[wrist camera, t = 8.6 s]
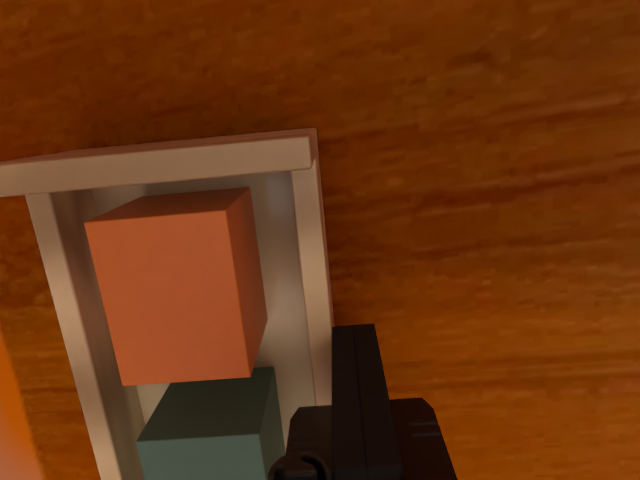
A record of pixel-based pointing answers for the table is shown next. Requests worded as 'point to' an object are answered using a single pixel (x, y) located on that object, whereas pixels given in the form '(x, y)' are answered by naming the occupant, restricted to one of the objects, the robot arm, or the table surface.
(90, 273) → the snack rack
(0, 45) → the table surface
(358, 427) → the robot arm
